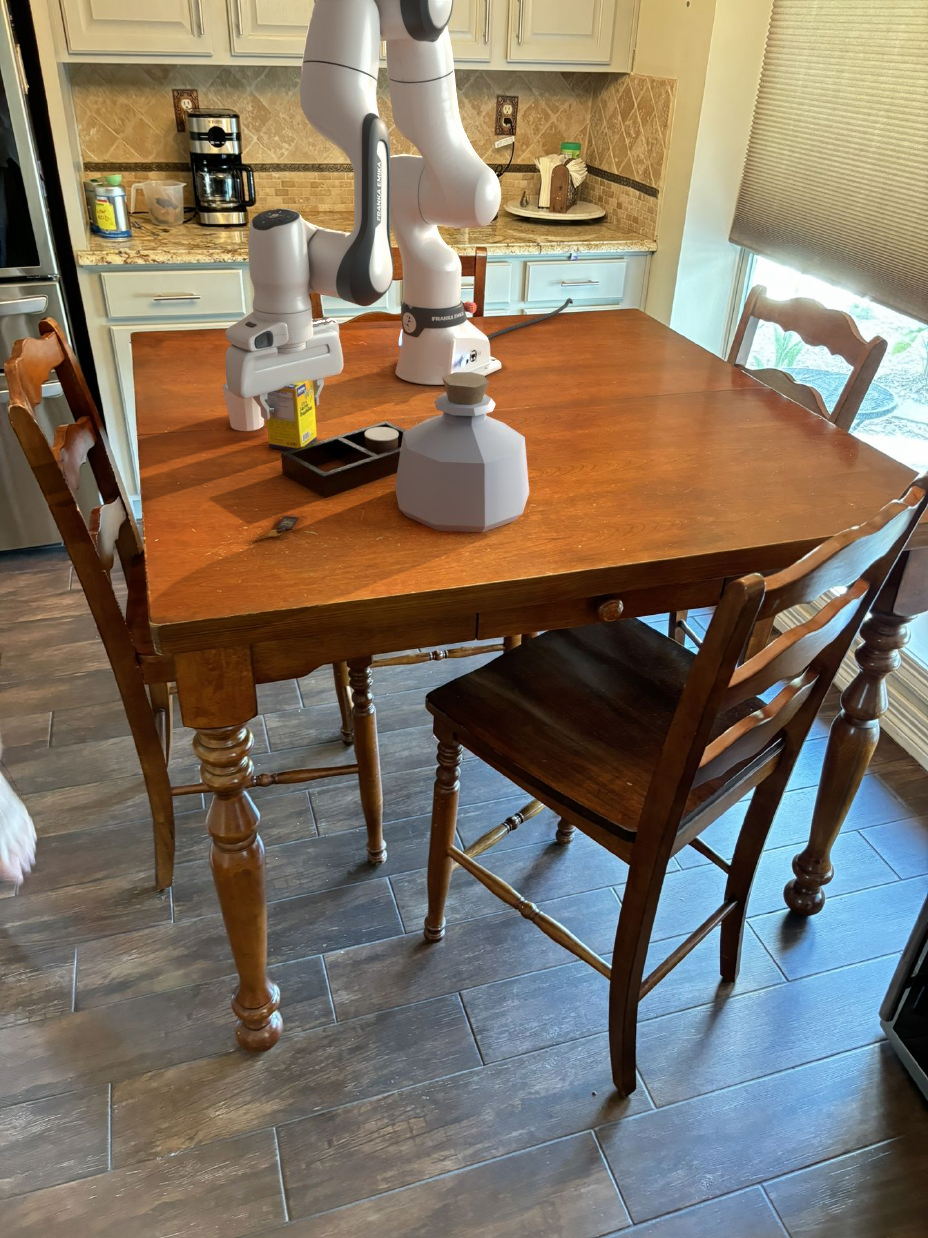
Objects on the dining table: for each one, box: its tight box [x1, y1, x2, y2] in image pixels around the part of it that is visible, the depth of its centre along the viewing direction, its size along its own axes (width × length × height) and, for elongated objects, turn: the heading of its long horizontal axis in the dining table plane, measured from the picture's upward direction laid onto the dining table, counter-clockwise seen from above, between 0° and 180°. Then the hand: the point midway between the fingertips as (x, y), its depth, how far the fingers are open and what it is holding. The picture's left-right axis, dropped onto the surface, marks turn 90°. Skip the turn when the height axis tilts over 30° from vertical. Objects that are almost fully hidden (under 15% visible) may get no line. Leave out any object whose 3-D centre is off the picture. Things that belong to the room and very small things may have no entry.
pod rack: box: [280, 420, 407, 499], centre depth 143 cm, size 21×11×4 cm, turn 134°
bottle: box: [394, 372, 530, 533], centre depth 129 cm, size 20×20×19 cm
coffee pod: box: [365, 427, 399, 455], centre depth 146 cm, size 5×5×4 cm
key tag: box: [255, 515, 299, 542], centre depth 125 cm, size 8×3×1 cm, turn 159°
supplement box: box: [264, 380, 318, 451], centre depth 148 cm, size 6×6×11 cm
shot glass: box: [222, 382, 265, 432], centre depth 155 cm, size 7×7×7 cm
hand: (290, 411), depth 148 cm, fingers closed on supplement box, 7 cm apart
